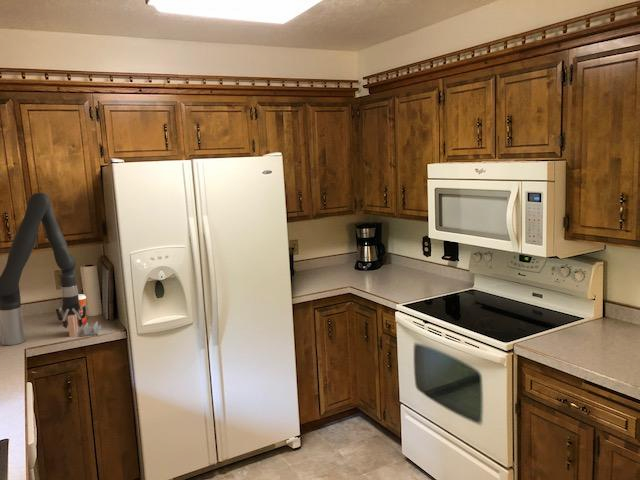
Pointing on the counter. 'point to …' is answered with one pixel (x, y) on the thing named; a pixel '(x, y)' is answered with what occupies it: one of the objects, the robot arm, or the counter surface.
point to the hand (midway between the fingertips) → (73, 326)
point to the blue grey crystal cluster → (90, 330)
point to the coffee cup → (82, 302)
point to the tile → (72, 325)
